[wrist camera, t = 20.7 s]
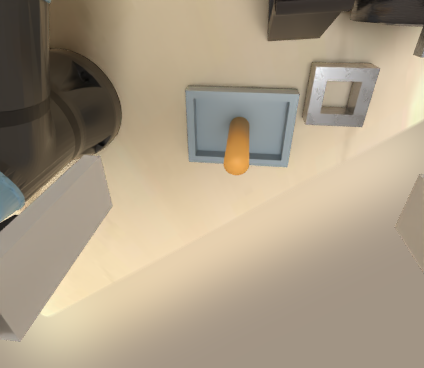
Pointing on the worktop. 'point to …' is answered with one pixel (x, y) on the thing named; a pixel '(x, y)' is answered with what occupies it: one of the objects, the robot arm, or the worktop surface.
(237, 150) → the pin
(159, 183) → the worktop surface
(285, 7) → the phone stand
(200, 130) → the tray
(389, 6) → the caster wheel
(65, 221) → the robot arm
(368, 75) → the pin socket
